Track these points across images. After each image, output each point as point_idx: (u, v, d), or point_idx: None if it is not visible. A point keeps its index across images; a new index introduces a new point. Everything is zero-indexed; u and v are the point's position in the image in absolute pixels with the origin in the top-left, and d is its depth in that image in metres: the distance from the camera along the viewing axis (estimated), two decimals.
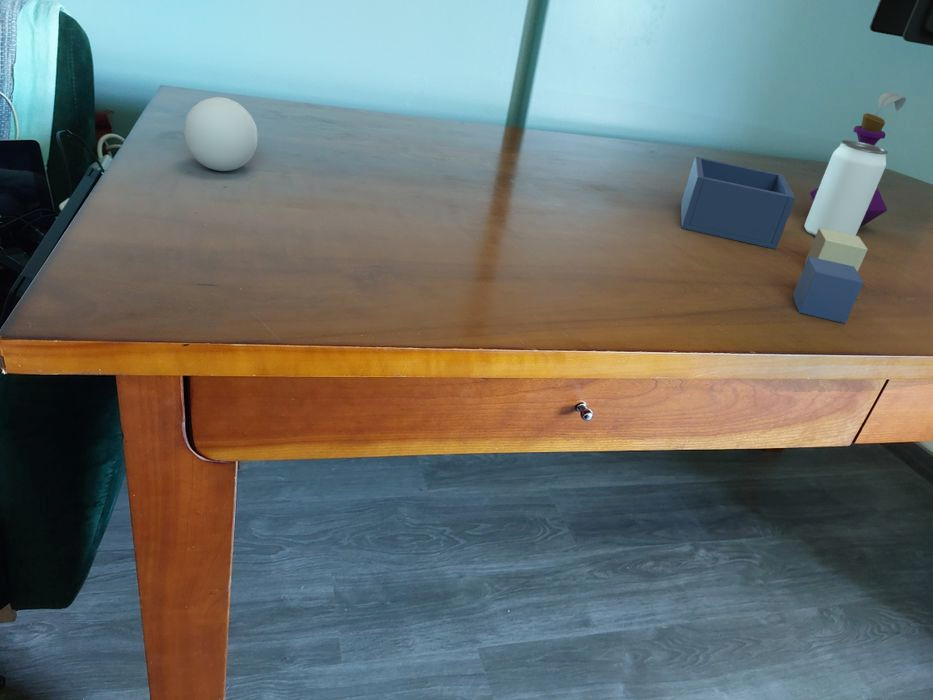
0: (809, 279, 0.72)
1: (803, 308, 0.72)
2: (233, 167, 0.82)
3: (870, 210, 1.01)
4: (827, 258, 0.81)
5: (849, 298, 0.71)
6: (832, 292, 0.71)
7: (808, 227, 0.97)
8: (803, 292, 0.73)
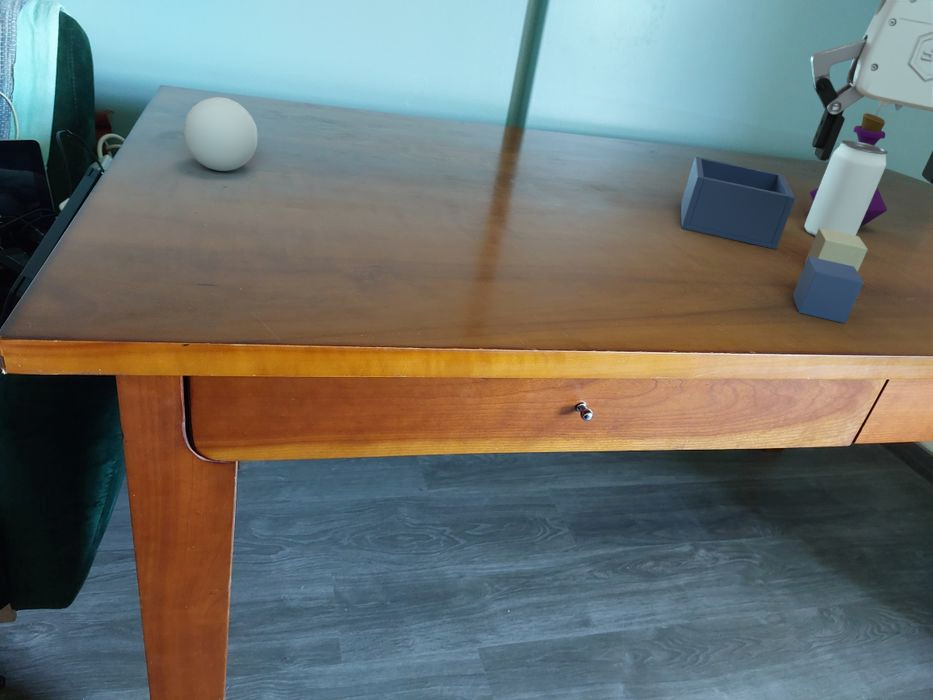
0: (809, 279, 0.72)
1: (803, 308, 0.72)
2: (233, 167, 0.82)
3: (870, 210, 1.01)
4: (827, 258, 0.81)
5: (849, 298, 0.71)
6: (832, 292, 0.71)
7: (808, 227, 0.97)
8: (803, 292, 0.73)
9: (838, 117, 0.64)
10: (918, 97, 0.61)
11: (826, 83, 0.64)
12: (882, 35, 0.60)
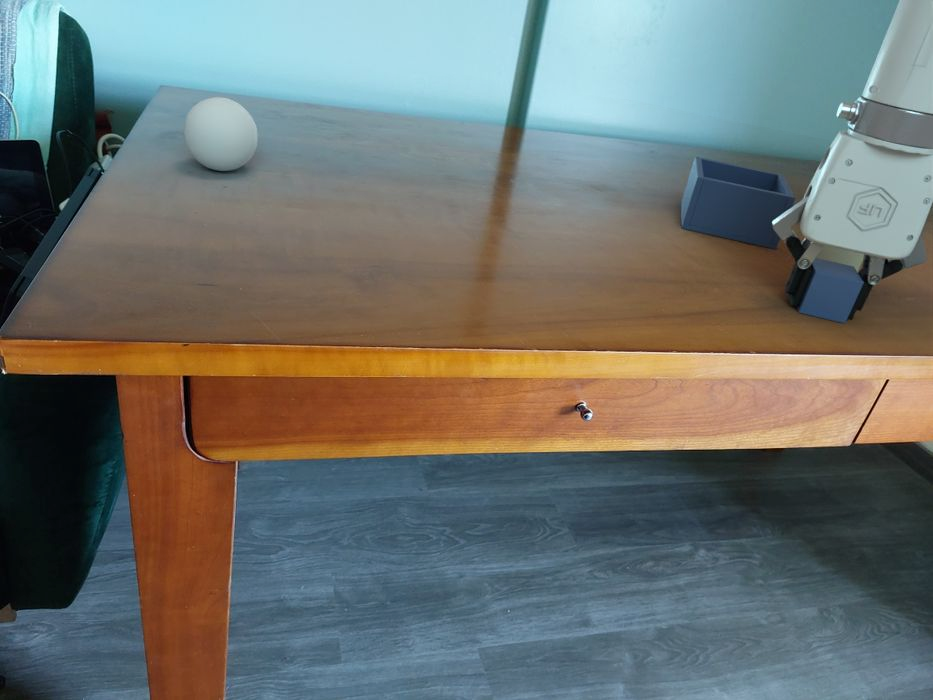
0: None
1: (803, 308, 0.72)
2: (233, 167, 0.82)
3: None
4: (827, 258, 0.81)
5: (849, 298, 0.71)
6: (832, 292, 0.71)
7: None
8: None
9: (806, 272, 0.71)
10: (857, 244, 0.68)
11: (795, 242, 0.71)
12: (823, 191, 0.67)
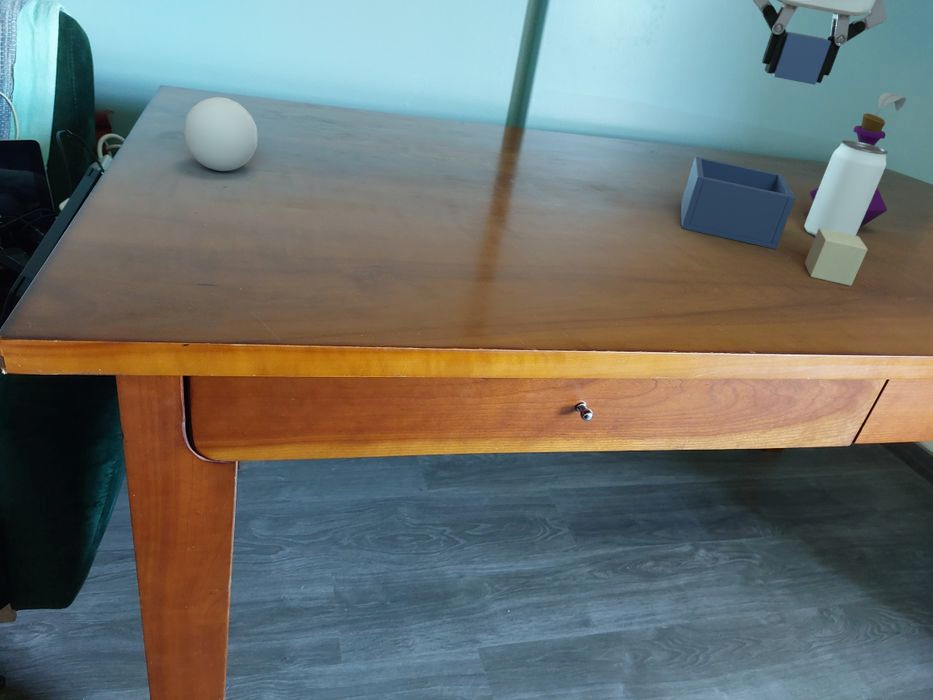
0: None
1: (778, 72, 0.81)
2: (233, 167, 0.82)
3: (870, 210, 1.01)
4: (827, 258, 0.81)
5: (818, 58, 0.79)
6: (803, 53, 0.80)
7: (808, 227, 0.97)
8: None
9: (781, 36, 0.80)
10: (824, 1, 0.77)
11: (770, 9, 0.80)
12: None
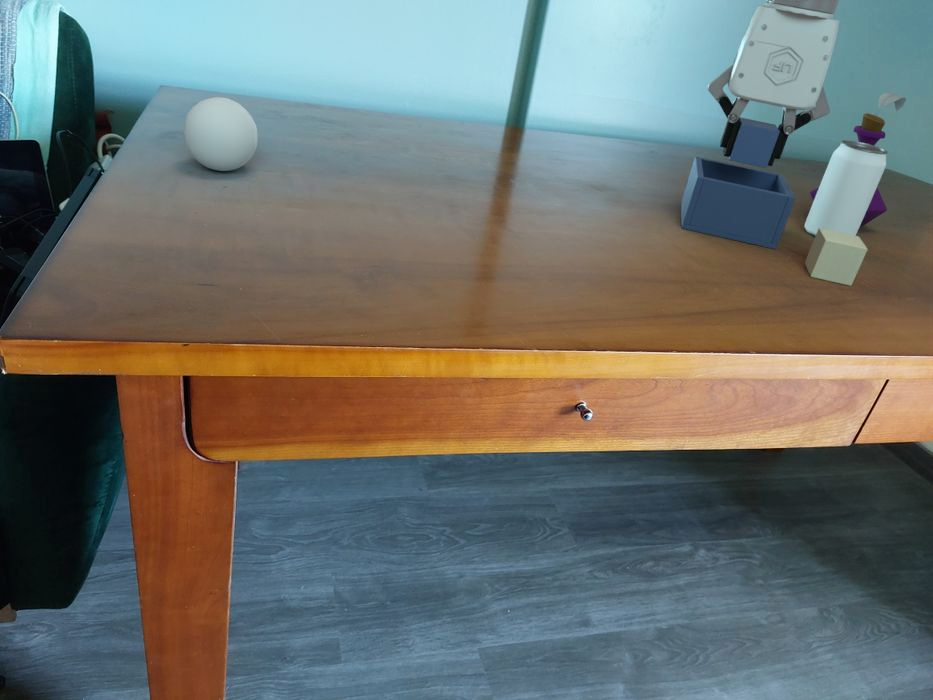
0: None
1: (733, 156, 0.89)
2: (233, 167, 0.82)
3: (870, 210, 1.01)
4: (827, 258, 0.81)
5: (769, 145, 0.88)
6: (755, 141, 0.88)
7: (808, 227, 0.97)
8: None
9: (735, 125, 0.88)
10: (772, 97, 0.85)
11: (726, 100, 0.88)
12: (745, 53, 0.84)
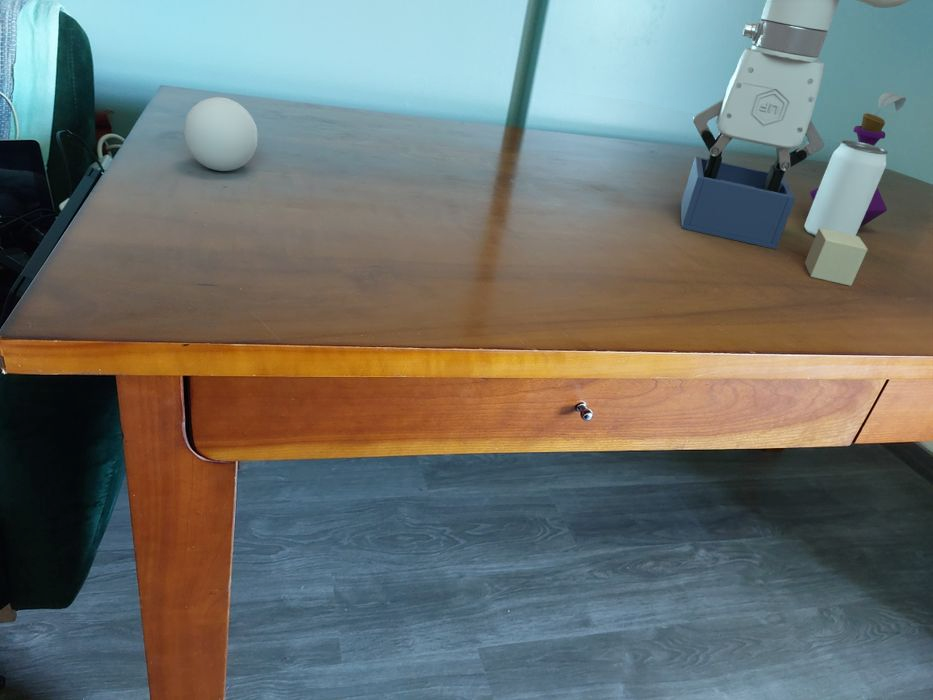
0: None
1: None
2: (233, 167, 0.82)
3: (870, 210, 1.01)
4: (827, 258, 0.81)
5: None
6: None
7: (808, 227, 0.97)
8: None
9: (717, 158, 0.90)
10: (760, 136, 0.87)
11: (708, 134, 0.90)
12: (732, 94, 0.86)
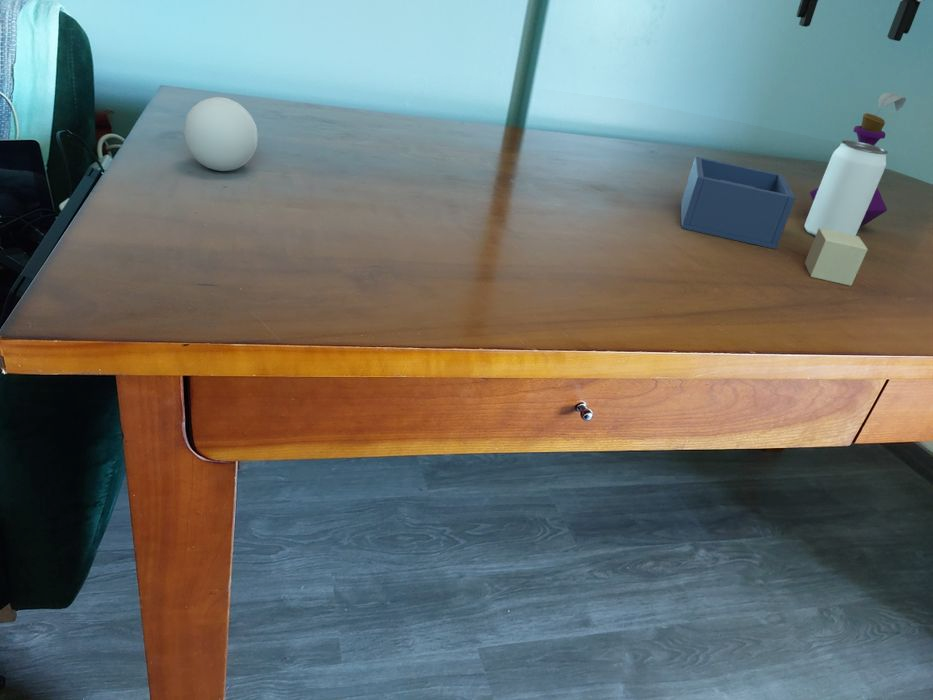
0: None
1: None
2: (233, 167, 0.82)
3: (870, 210, 1.01)
4: (827, 258, 0.81)
5: None
6: None
7: (808, 227, 0.97)
8: None
9: None
10: None
11: None
12: None
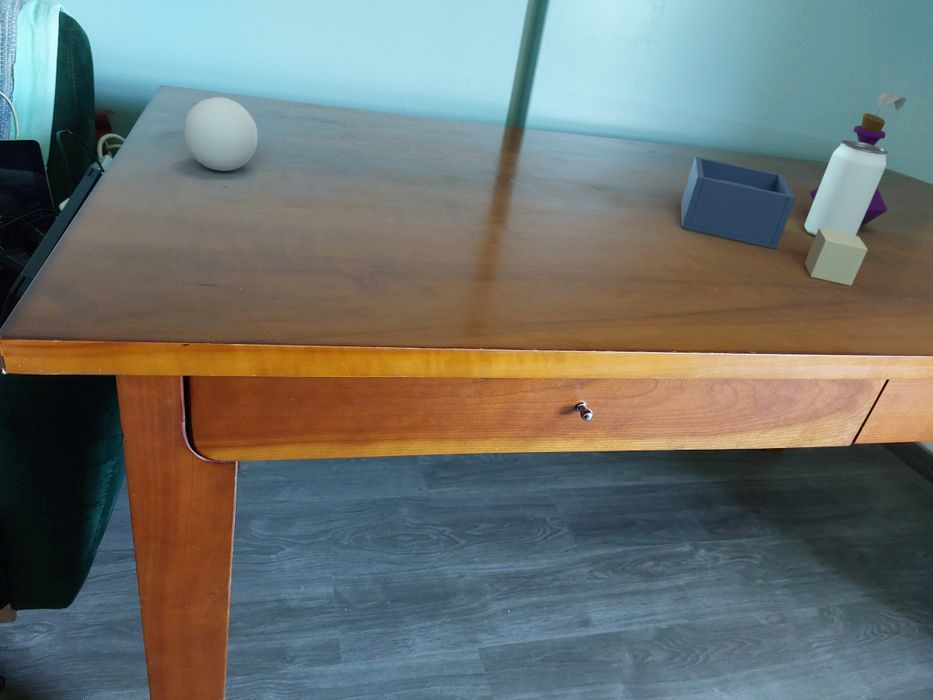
0: None
1: None
2: (233, 167, 0.82)
3: (870, 210, 1.01)
4: (827, 258, 0.81)
5: None
6: None
7: (808, 227, 0.97)
8: None
9: None
10: None
11: None
12: None
